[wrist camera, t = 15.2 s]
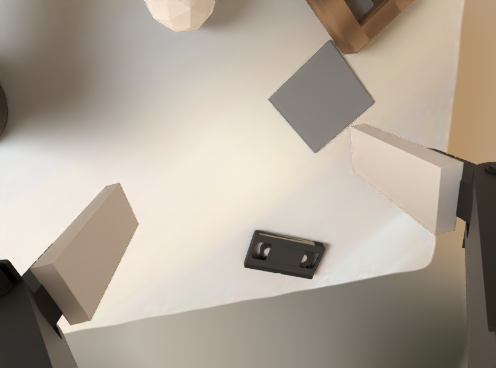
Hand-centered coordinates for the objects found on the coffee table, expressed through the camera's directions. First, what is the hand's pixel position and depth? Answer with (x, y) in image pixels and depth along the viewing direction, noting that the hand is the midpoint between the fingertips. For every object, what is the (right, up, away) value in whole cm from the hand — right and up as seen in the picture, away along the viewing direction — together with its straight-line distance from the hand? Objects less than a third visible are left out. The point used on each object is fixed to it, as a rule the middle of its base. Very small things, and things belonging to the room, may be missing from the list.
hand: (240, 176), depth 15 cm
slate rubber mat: (+12, +13, +27) cm, 33 cm away
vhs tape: (+7, -14, +39) cm, 42 cm away
